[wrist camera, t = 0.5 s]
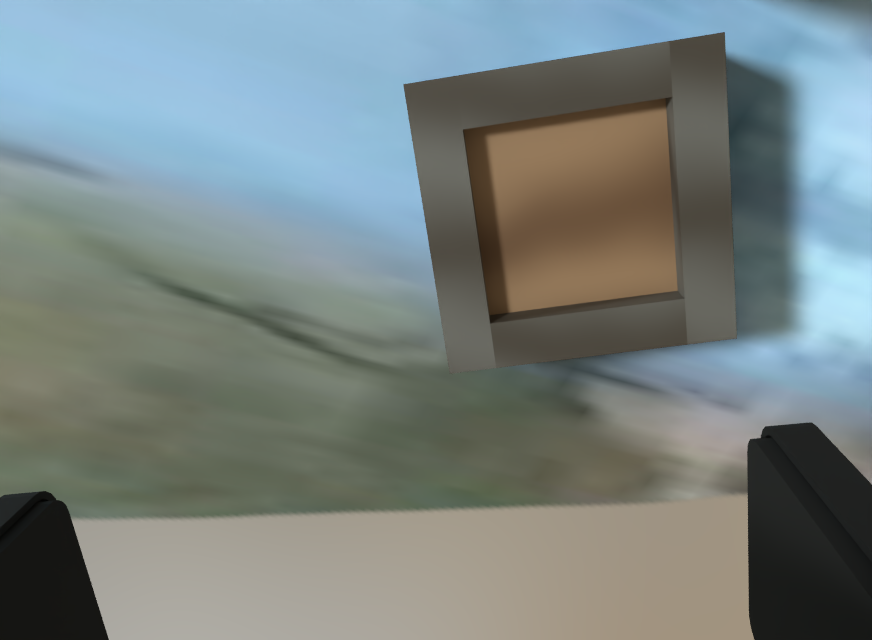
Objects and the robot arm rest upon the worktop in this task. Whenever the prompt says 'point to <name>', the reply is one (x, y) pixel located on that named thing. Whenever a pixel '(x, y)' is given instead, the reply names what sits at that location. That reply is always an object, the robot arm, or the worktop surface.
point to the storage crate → (579, 204)
